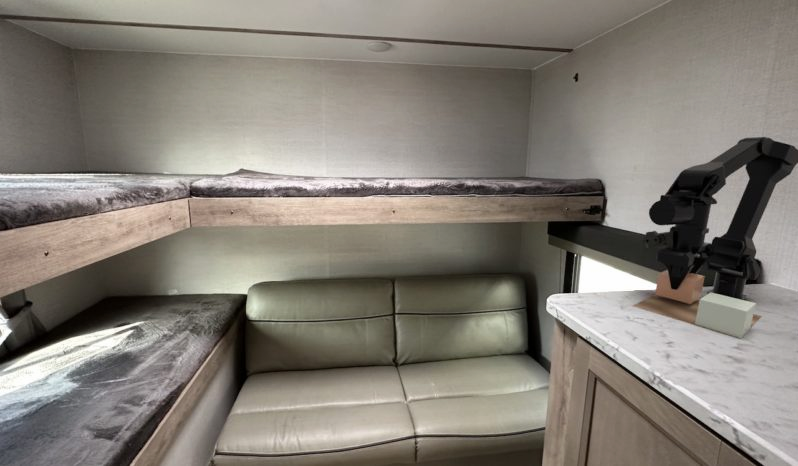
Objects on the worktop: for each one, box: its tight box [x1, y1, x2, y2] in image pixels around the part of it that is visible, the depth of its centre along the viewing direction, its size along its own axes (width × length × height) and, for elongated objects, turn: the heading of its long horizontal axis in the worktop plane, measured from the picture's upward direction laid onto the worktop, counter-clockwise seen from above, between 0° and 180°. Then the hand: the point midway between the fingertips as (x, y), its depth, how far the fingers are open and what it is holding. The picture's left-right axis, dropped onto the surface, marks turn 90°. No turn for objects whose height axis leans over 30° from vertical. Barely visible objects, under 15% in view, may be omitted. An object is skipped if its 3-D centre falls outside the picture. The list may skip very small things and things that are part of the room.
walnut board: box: [632, 293, 763, 340], centre depth 78 cm, size 18×18×1 cm
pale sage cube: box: [695, 292, 757, 339], centre depth 70 cm, size 7×7×6 cm
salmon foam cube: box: [654, 269, 706, 304], centre depth 84 cm, size 7×7×6 cm
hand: (679, 286), depth 84 cm, fingers closed on salmon foam cube, 7 cm apart
